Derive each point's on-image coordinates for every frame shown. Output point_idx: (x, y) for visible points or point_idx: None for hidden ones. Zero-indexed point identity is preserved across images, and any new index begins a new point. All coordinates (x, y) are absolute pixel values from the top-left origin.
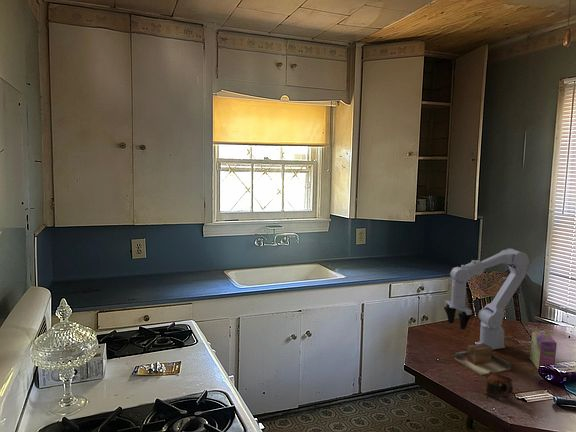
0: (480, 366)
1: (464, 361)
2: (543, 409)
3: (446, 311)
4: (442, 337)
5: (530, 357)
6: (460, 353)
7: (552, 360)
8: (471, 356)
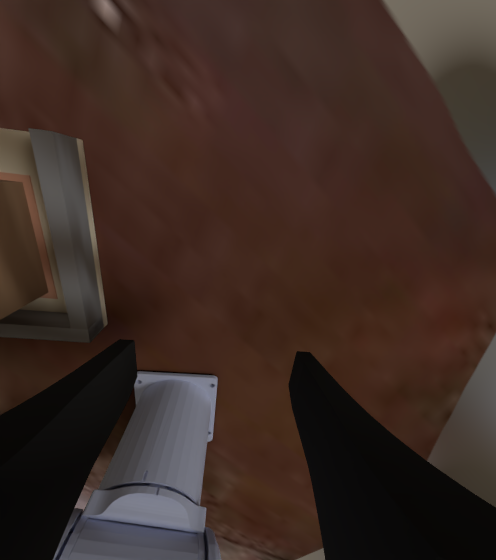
0: None
1: (7, 153)
2: None
3: (411, 471)
4: (344, 305)
5: None
6: (38, 167)
7: None
8: None
